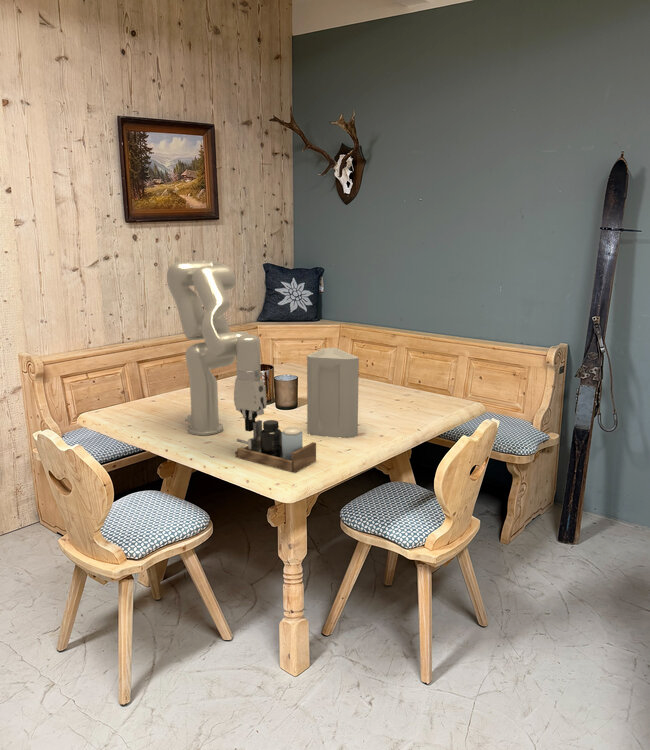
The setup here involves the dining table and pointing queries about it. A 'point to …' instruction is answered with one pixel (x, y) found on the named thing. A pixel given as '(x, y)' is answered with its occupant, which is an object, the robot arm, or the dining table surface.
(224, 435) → the dining table surface
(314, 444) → the brown wooden open box
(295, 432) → the blue jar
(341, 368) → the grey corner cabinet
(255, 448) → the pusher
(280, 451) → the supplement bottle
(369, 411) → the dining table surface
